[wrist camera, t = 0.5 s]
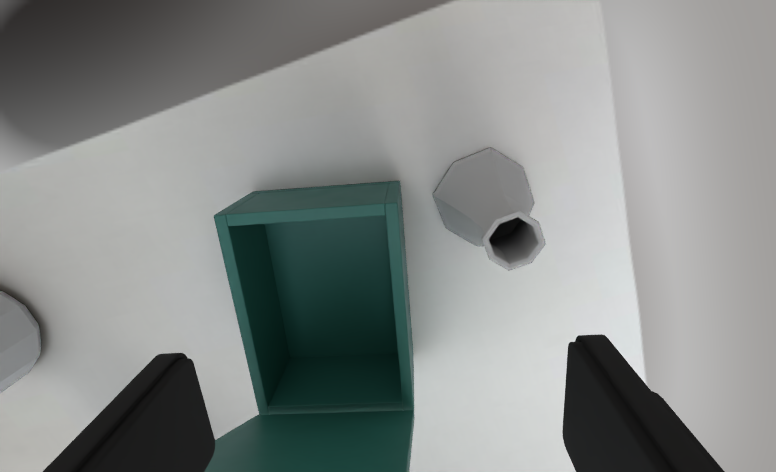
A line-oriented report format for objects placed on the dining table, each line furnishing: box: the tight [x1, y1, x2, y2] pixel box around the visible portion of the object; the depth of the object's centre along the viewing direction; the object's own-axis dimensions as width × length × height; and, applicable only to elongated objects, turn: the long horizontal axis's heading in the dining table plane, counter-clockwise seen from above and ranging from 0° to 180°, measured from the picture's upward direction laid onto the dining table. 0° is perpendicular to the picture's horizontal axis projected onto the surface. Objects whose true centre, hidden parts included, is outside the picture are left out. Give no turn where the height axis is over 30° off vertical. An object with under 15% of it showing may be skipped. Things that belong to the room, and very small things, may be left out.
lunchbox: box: [214, 181, 414, 415], centre depth 31 cm, size 16×12×7 cm
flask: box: [433, 147, 546, 270], centre depth 26 cm, size 7×7×10 cm
